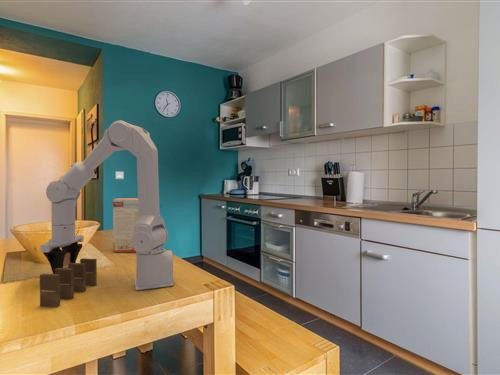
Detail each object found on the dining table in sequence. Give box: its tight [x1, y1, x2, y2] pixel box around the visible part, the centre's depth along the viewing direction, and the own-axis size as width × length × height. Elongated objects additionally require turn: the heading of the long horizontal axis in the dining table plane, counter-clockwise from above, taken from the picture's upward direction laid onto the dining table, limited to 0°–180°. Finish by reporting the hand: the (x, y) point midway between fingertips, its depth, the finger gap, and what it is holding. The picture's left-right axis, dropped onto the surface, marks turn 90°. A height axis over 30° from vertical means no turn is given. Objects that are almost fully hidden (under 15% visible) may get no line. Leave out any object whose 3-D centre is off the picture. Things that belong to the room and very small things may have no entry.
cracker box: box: [112, 197, 139, 254], centre depth 119 cm, size 14×6×21 cm, turn 84°
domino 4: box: [68, 262, 87, 293], centre depth 77 cm, size 1×4×7 cm, turn 84°
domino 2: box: [63, 253, 70, 268], centre depth 86 cm, size 1×4×7 cm, turn 174°
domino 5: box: [79, 257, 98, 287], centre depth 81 cm, size 1×4×7 cm, turn 84°
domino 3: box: [55, 268, 75, 300], centre depth 72 cm, size 1×4×7 cm, turn 84°
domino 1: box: [39, 273, 61, 308], centre depth 68 cm, size 1×4×7 cm, turn 84°
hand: (63, 272), depth 86 cm, fingers open, 4 cm apart
